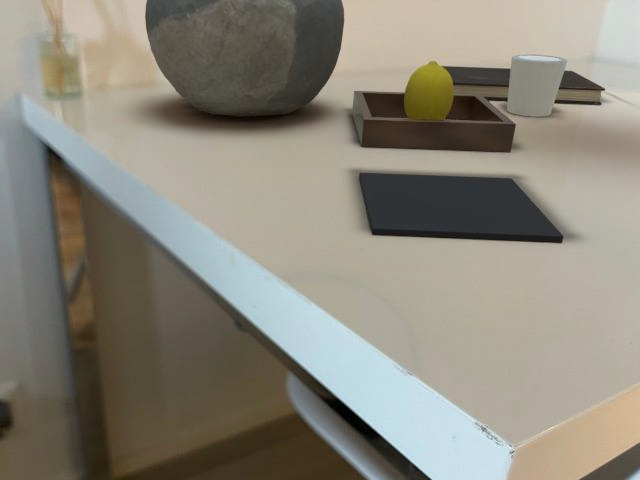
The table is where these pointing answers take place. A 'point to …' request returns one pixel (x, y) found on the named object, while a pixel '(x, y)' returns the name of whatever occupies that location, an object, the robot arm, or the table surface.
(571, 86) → the hardcover book
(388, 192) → the pad
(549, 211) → the table surface
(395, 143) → the tray
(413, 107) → the lemon
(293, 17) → the bowl
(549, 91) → the white cup
